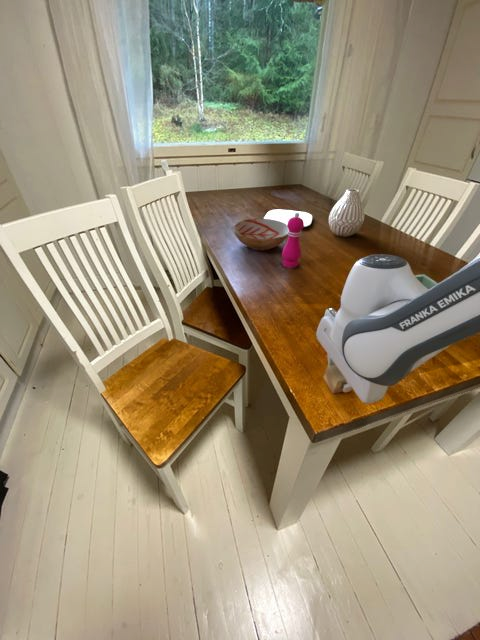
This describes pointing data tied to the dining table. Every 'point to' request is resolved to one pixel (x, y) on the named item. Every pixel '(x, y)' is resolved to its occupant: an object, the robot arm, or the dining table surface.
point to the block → (334, 378)
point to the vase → (347, 214)
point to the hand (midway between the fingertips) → (338, 379)
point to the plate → (288, 216)
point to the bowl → (261, 233)
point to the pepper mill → (293, 242)
